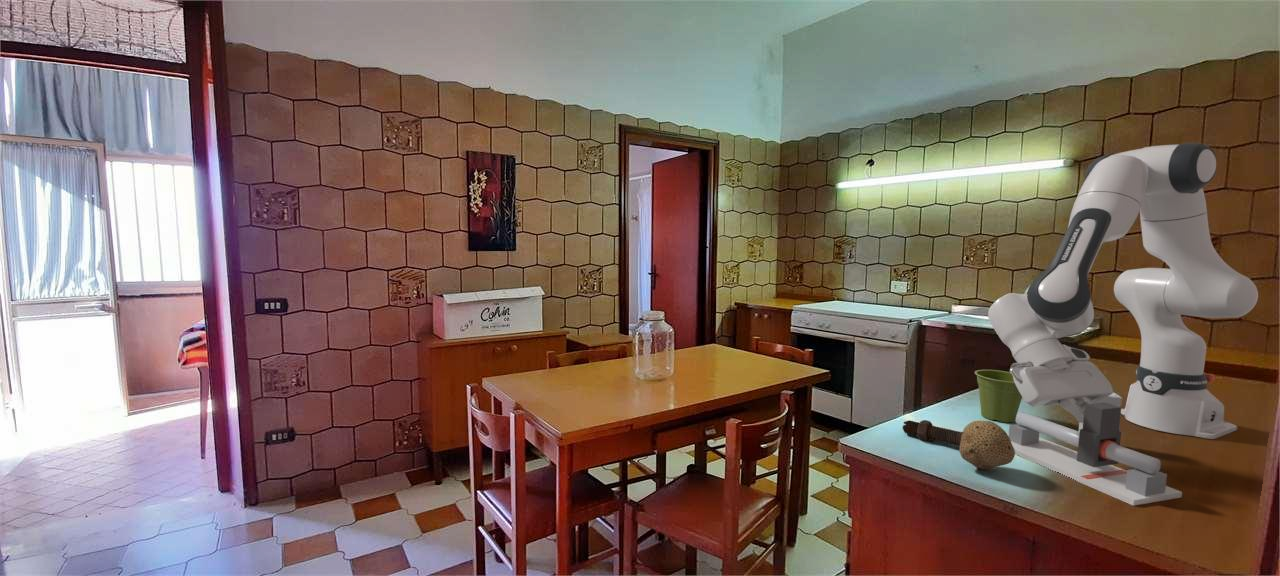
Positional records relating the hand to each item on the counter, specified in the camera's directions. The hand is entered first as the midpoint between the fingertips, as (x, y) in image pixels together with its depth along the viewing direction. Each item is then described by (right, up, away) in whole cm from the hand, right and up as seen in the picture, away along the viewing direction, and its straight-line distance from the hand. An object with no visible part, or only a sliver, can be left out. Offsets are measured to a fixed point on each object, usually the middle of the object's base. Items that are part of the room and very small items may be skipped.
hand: (1089, 421), depth 103 cm
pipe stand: (0, -10, +2) cm, 10 cm away
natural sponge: (-20, -10, +1) cm, 22 cm away
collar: (0, -8, -1) cm, 8 cm away
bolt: (-21, -9, +15) cm, 27 cm away
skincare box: (+14, -9, +14) cm, 22 cm away
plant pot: (+3, -7, +31) cm, 32 cm away
